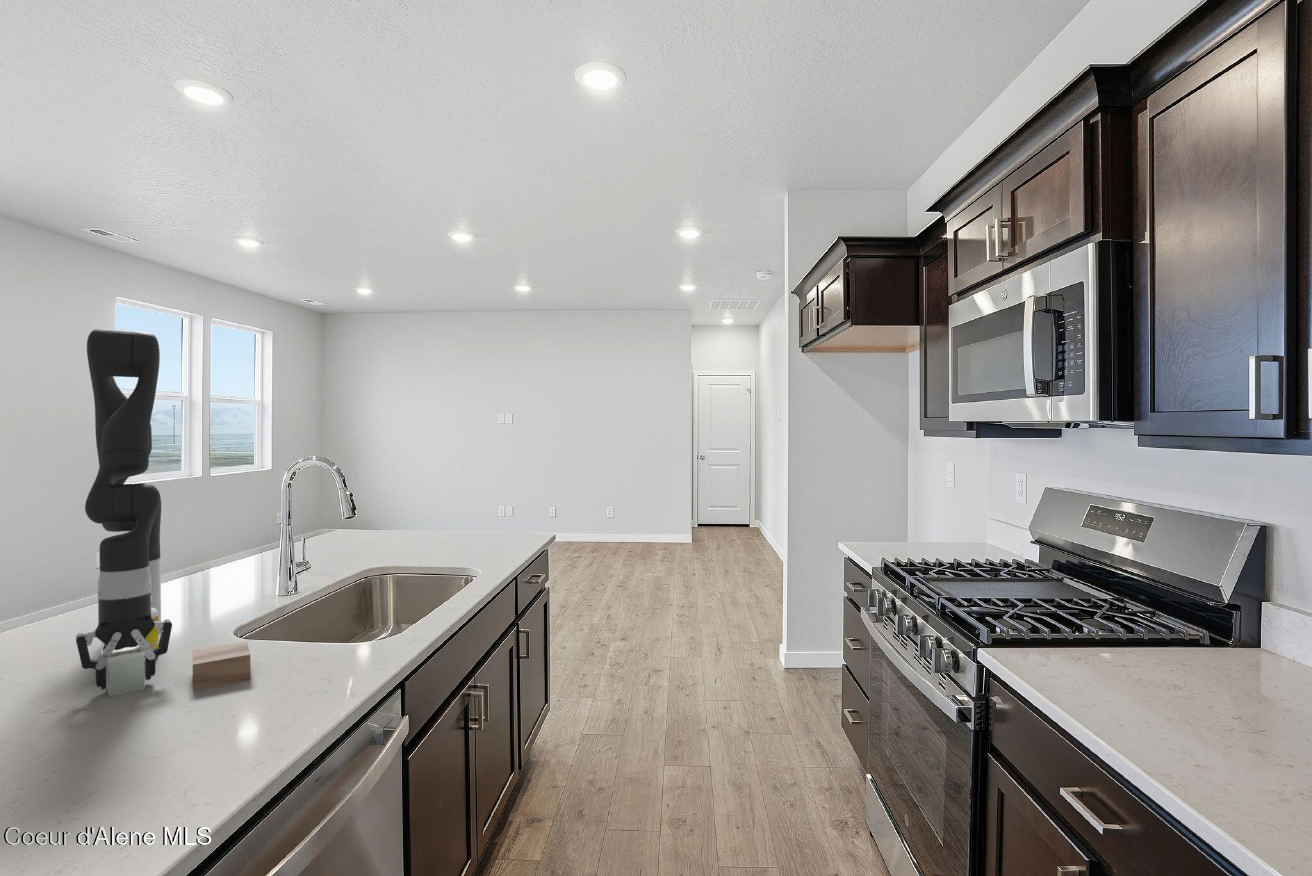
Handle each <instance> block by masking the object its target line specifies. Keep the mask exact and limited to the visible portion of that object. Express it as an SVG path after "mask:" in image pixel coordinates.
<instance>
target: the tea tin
mask: <svg viewBox="0 0 1312 876" xmlns="http://www.w3.org/2000/svg"><path fill="white" fill-rule="evenodd" d="M144 656H145V650H141V648H140V647H139V645H137V647H125V648H123V649H120V650H113V652H112V654H111V656H108V660H107V662H106V678H107V692H108V697H109V696H111V697H114V696H113V695H116V696H119V695H118V694H120V695H124V693H125V694H128V693H127V692H130V693H133V692H132V691H134V692H137V691H136V690H139V691H143V689H144V690H145V686H146V685H145V682H146V681H145V680H146V678H145V662H144ZM141 689H142V690H141Z"/></svg>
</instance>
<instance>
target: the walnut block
mask: <svg viewBox="0 0 1312 876" xmlns="http://www.w3.org/2000/svg"><path fill="white" fill-rule="evenodd" d="M251 670H252V669H251V651H250V648H249V643H248V641H244V642H243V641H242V642H238V643H237V642H236V643H230V644H224V645H219V646H213V647H205V648H201V649H194V650H192V691H197V690H201V689H208V688H213V687H217V686H222V685H223V686H224V685H227V684H228V685H229V684H233V683H239V682H244V681H249V680H251V677H252V676H251V673H252V672H251Z"/></svg>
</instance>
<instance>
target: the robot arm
mask: <svg viewBox="0 0 1312 876" xmlns="http://www.w3.org/2000/svg"><path fill="white" fill-rule="evenodd" d="M160 352H161V351H160V345H159V341H158V338H157V336H156V335H155V334H153V333H151V332H146V331H137V330H136V331H135V330H124V329H108V328H98V329H97V328H95V329H93V330H91V332H90V333H89V334H88V337H87V340H86V354H87V356H86V357H87V363H88V369H89V374H90V375H89V376H90V382H91V387H92V394H93V400H94V401H93V402H94V416H95V417H94V418H95V421H94V422H95V424H94V425H95V428H94V429H95V439H96V440H95V443H96V452H97V457H98V458H97V459H98V466H99V467H98V471H97V474H96V477H95V479H94V482H93V484H92V486H91V487H90V490H89V492H88V494H87V497H86V501H85V504H84V509H85V514H86V516H87V518H88V519H89V520H90V521H91V522H93V523H95V524H100V525H102V528H104V530H105V531H107V532H110V533H111V532H113V533H115V532H116V533H118V532H119V533H120V532H121V534H116V535H112V536H109V537H105V538H104V539H102V540H101V541H100V543H99V576H98V581H97V600H98V601H97V602H98V603H97V609H98V610H97V612H98V615H97V616H98V622H97V623H98V624H97V627H96V628H95V630H94V631H91V632H85V633H81V632H79V633H77V634H76V635H75V642H76V646H77V650H78V656H79V660H80V662H81V663H80V664H81V667H82V669H84V670H86V669H87V670H88V669H93V670H95V685H96V687H97V688H100V690H101V691H102V690H105V689H106V690H107V660H108V656H111V654H112V652H113V650H120V649H123V648H125V647H137V645H139V647H140V648H141V650H145V655H146V658H145V662H144V675H145V680H146V681H149V680H151V679H152V677H153V676H155V675H156V659H157V657H159V656H161V655H165V654H167V653H168V649H169V644H170V638H171V632H172V628H173V624H172V623H173V622H172V621H171V620H170V618H169V619H167V618H166V619H165V620H162V593H161V592H162V589H161V588H162V587H161V586H162V581H161V580H162V579H161V578H162V577H161V575H162V574H161V544H160V543H161V523H162V522H161V521H162V519H161V518H162V497H161V493H160V490H158V488H157V487H156V486H155V485H153V484H152V483H145V482H144V483H143V482H141V483H139V482H138V483H126V481H127V480H128V479H129V478H130V477H135V476H138V475H141V474H144V473H145V472H146V471H148V468H149V465H150V463H149V462H150V455H151V453H152V449H153V443H152V442H153V441H152V439H153V438H152V437H153V433H152V424H151V420H152V415H153V410H154V405H155V399H156V393H157V384H158V379H159V371H160V363H161V362H160V360H161V359H160V358H161V357H160V356H161V354H160ZM114 377H119V378H120V377H121V378H138V379H137V382H136V384H135V388H134V389H133V391H132V392H131V393H130V395H129V396H128V397H127V396H126V395H125V394H124V392H122V391H121V389H120V387H119V386H118V384H117V382H116V380H115V378H114ZM122 532H123V533H122ZM151 596H152V603H151ZM151 607H153V608H155V609H157V611H158V621H154V620H153V619H152V617H151ZM154 627H155V628H157V631H158V633H159V634H160V635H159V646H158V647H157V648H155V649H152V648H151V646H150V645H149V643H148V642H147V640H146V637H147V636H148V634H149V633H150V632H151V630H152V629H153V628H154ZM94 638H97V640H99V641H100V642H101V643H102V644H103V646H102V648H101V650H100V653H99V655H98V657H97V658H96V659H92V658H91V657H90V651H89V649H88V646H91V645H92V643H93V640H94Z"/></svg>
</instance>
